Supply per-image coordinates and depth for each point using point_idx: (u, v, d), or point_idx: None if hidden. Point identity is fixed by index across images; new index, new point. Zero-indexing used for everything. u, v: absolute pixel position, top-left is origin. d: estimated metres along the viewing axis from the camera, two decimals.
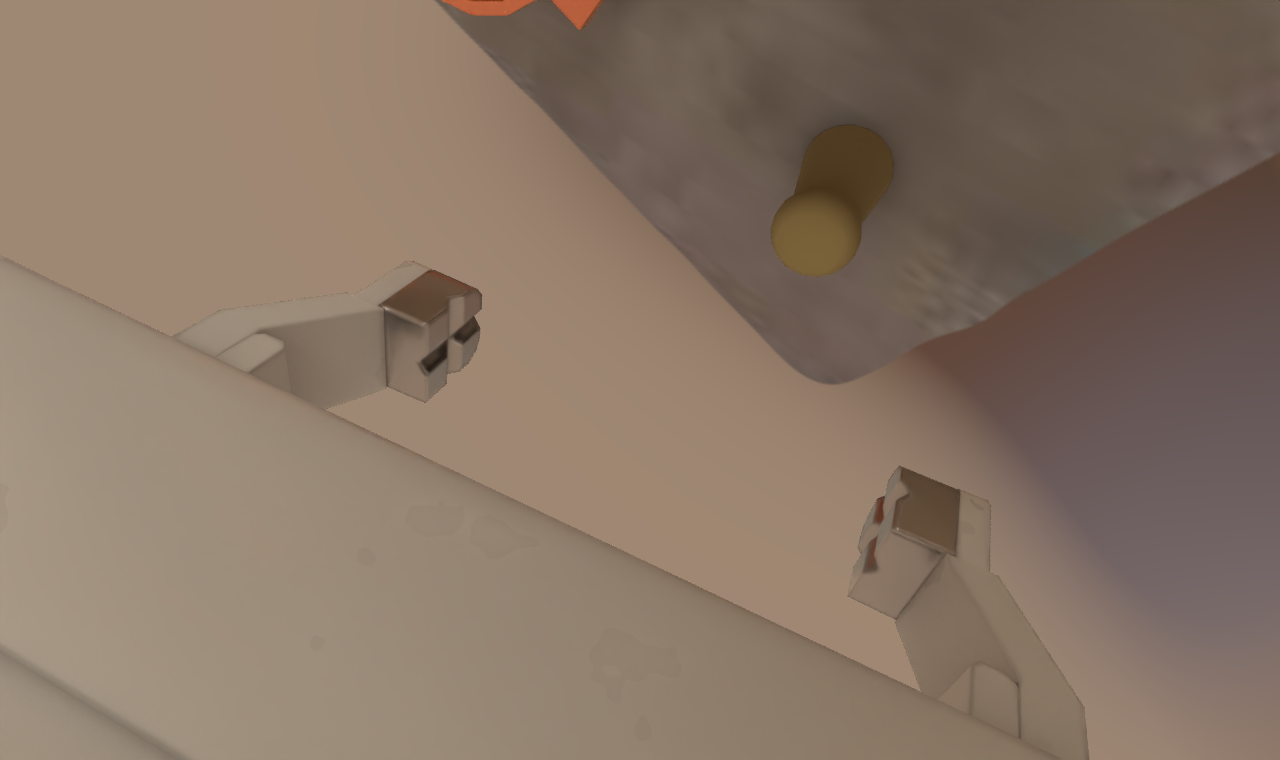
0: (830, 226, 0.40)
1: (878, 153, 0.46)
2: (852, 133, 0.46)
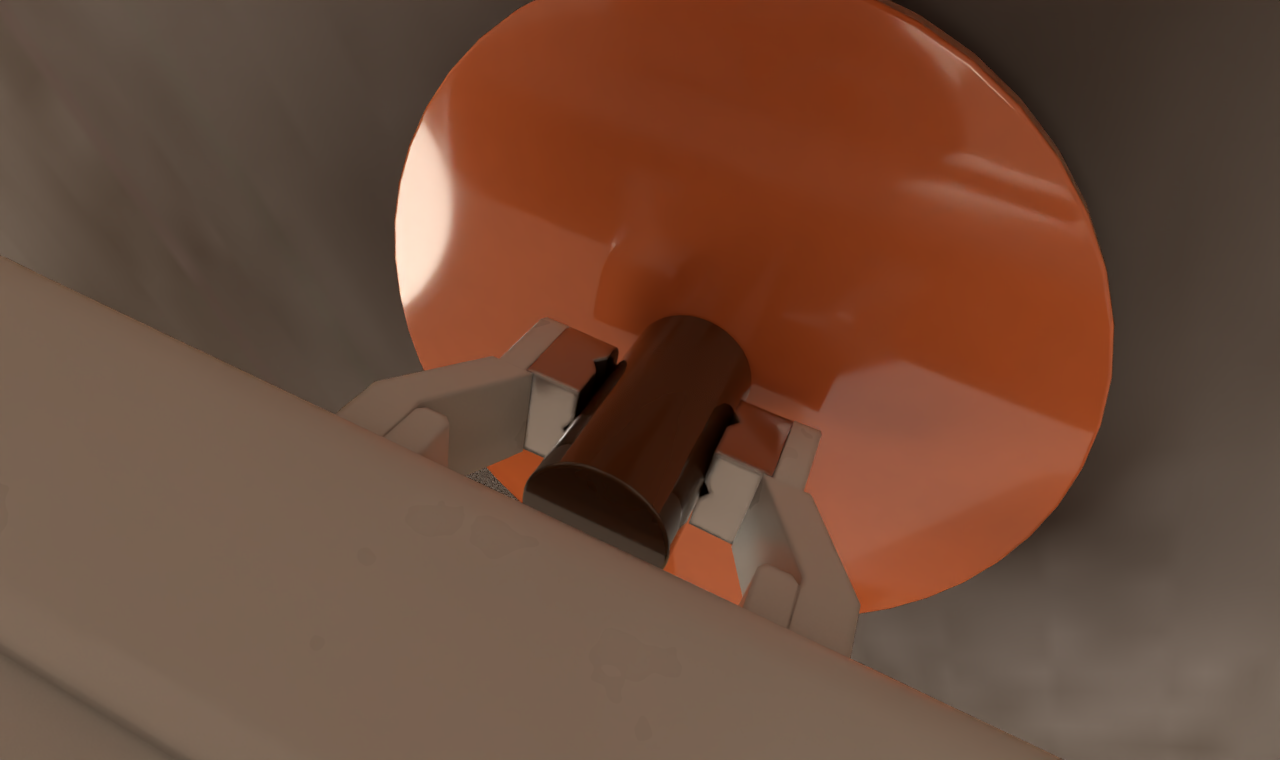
0: None
1: None
2: None
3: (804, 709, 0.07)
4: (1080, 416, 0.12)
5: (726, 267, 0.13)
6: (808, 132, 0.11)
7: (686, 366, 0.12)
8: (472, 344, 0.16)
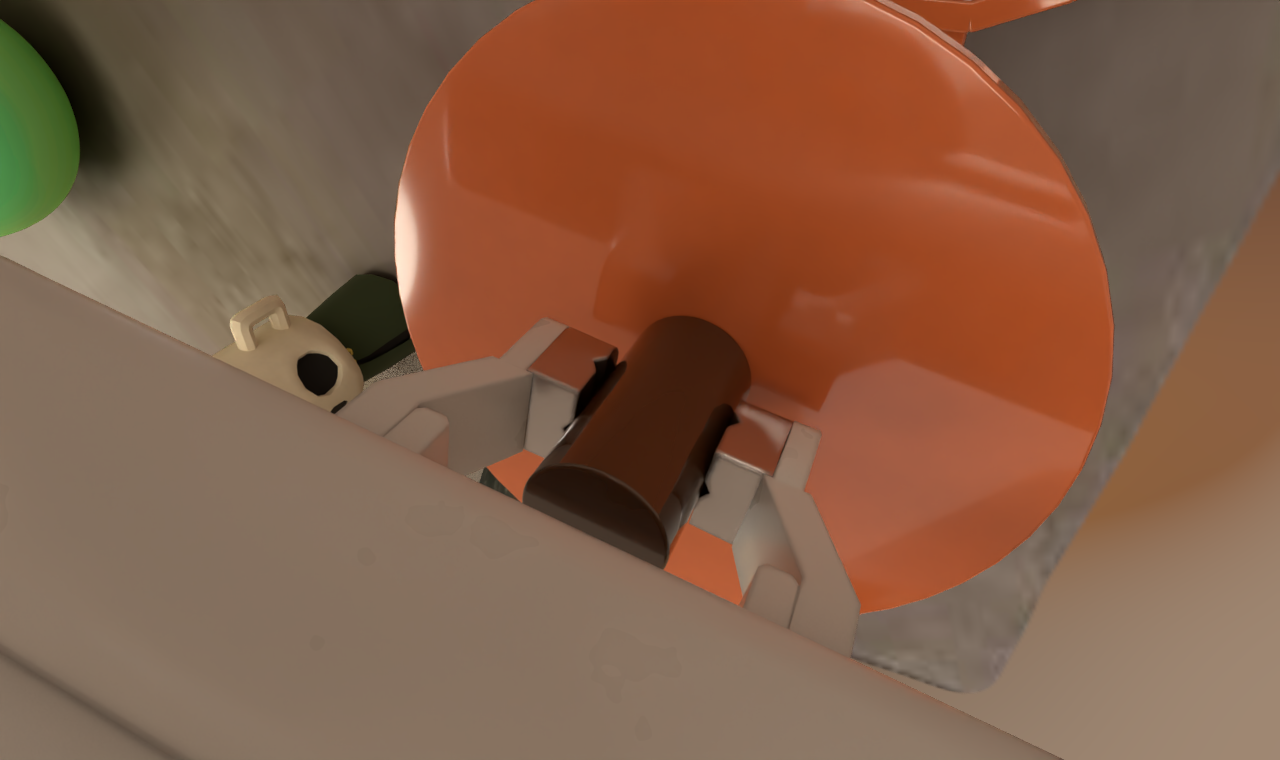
0: None
1: None
2: None
3: (804, 709, 0.07)
4: (1080, 416, 0.12)
5: (726, 268, 0.13)
6: (807, 133, 0.11)
7: (686, 367, 0.12)
8: (472, 345, 0.16)
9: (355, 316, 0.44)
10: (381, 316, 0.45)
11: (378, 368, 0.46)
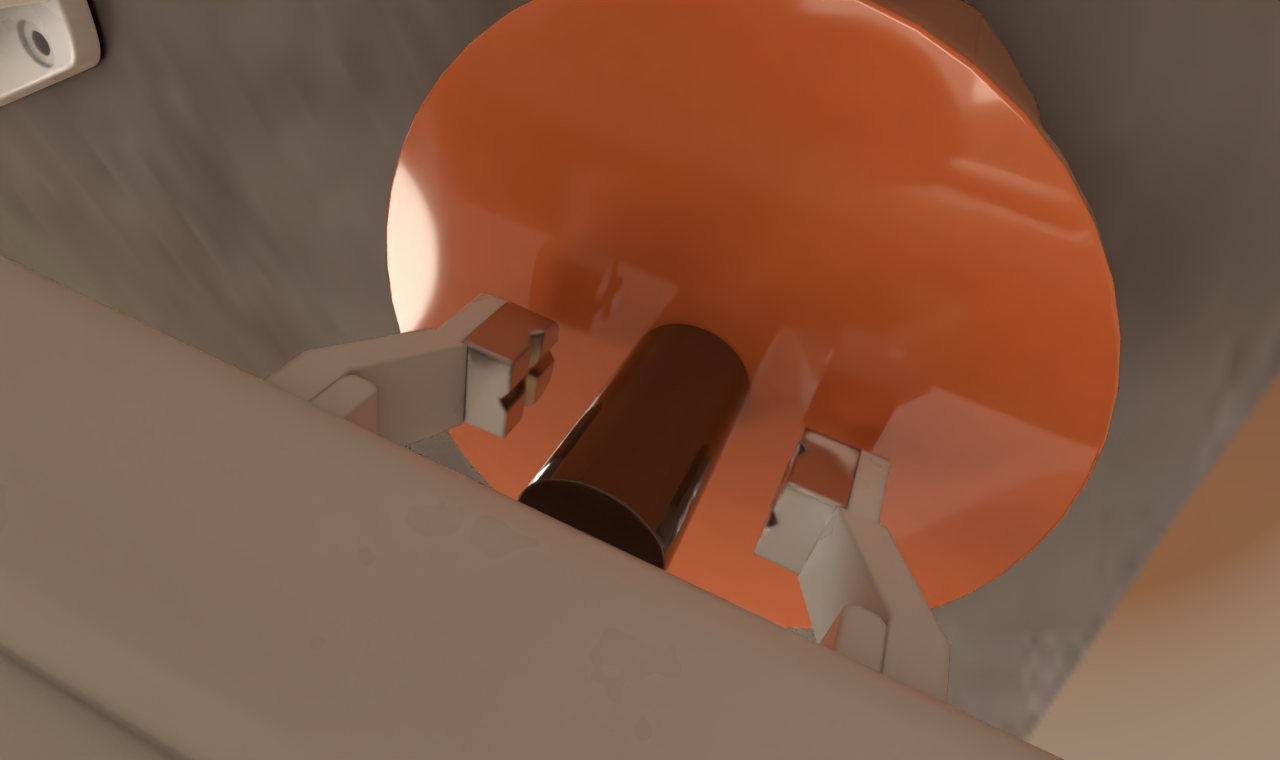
0: None
1: None
2: None
3: (804, 709, 0.07)
4: (1085, 428, 0.11)
5: (723, 275, 0.12)
6: (807, 138, 0.11)
7: (682, 377, 0.12)
8: None
9: None
10: None
11: None
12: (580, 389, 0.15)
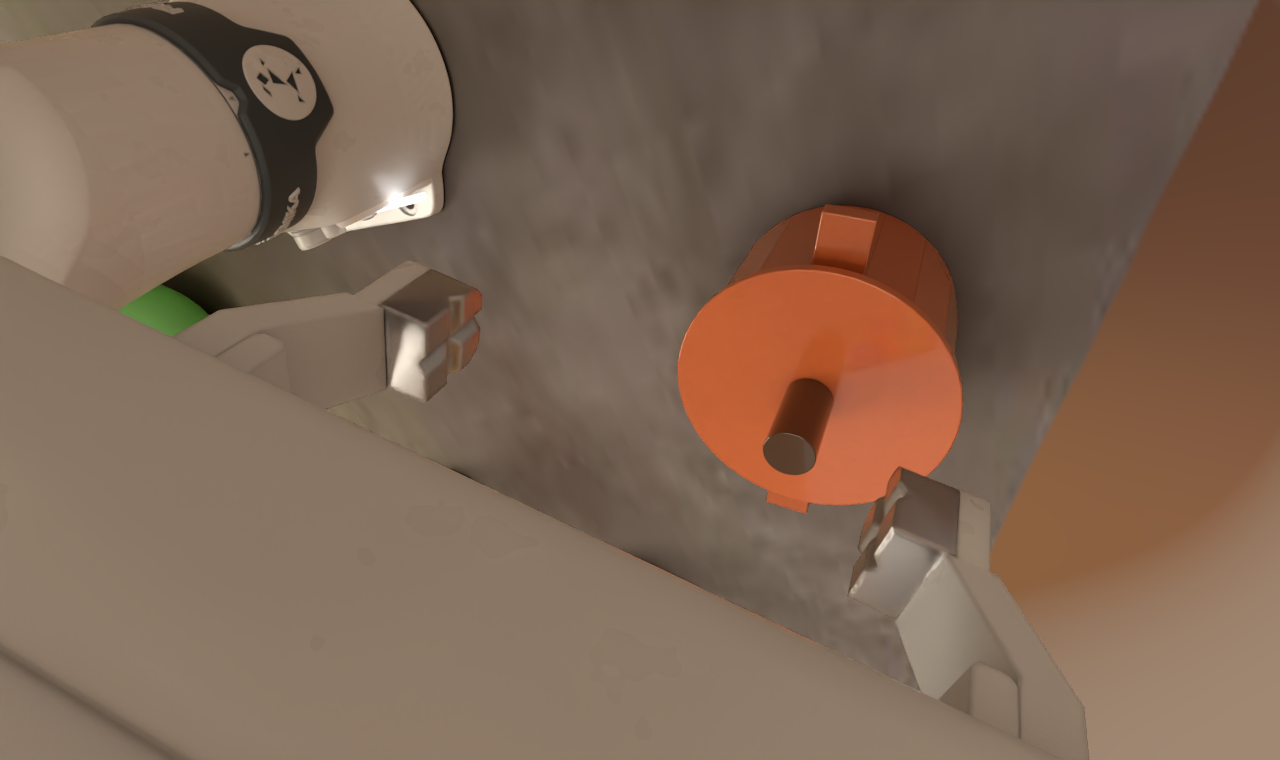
0: None
1: None
2: None
3: (804, 709, 0.07)
4: (953, 417, 0.33)
5: (827, 362, 0.34)
6: (860, 322, 0.32)
7: (814, 399, 0.34)
8: (709, 386, 0.38)
9: None
10: None
11: None
12: (760, 402, 0.37)
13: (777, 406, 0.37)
